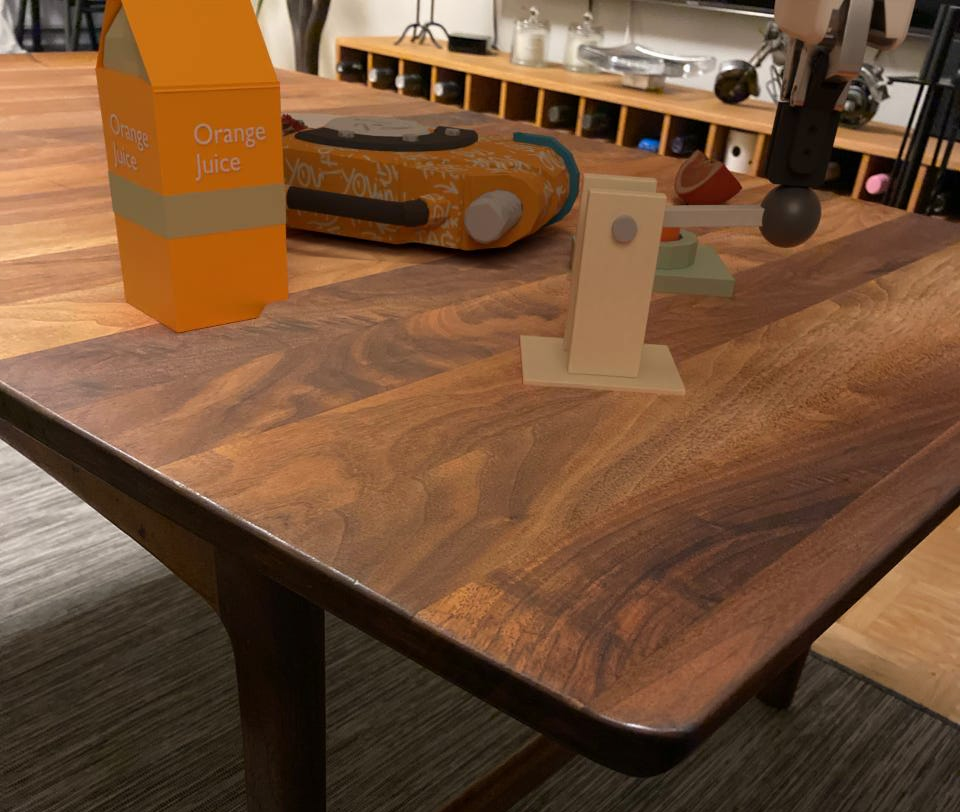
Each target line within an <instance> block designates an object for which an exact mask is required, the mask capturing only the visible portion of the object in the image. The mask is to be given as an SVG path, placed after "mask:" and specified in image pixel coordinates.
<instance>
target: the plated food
mask: <svg viewBox="0 0 960 812" xmlns="http://www.w3.org/2000/svg"><path fill="white" fill-rule="evenodd" d="M348 116H349V115H343V114H342V115H341V114H329V113H328V114H327V113H311V112H308V113H307V112H306V113H305V112H304V113H303V112H281V123H282V137H284V136H287V135H290V134H293V133H295V132H298V131H301V130H304V129H307V128H310V129H316V128H319V127H322V126H325V125H326V124H327V123H328V122H329V121H330V120H332V119H333V118H341V117H348Z"/></svg>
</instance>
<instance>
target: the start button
mask: <svg viewBox="0 0 960 812" xmlns="http://www.w3.org/2000/svg"><path fill="white" fill-rule="evenodd" d="M680 228H681V229H682V227H673V228H662V233H661V240H660V241H661V242H669V241H678V240H679V234H680Z"/></svg>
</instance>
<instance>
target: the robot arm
mask: <svg viewBox="0 0 960 812" xmlns="http://www.w3.org/2000/svg"><path fill="white" fill-rule="evenodd" d="M915 5H916V0H775V1H774V9H773V19H774V22H775V24H776V26H777V27H778V28H779V30H780V31H781V32H782V33H783V34H785V35H788V36H789V37H788V40H787V45H786V59H785V65H784V69H783V75H782V80H781V85H780V92H779V99H780V101H777V106H776V109H775V110H776V111H775V115H774V120H773V124H772V129H771V133H770V138H769V143H768V148H767V152H766V156H765V161H764V166H763V171H762V174H763V177H764V178H766V179H767V180H768V181H769V182H770V183H771V184H773V185H791V186H803V187H810V188H815V189H816V188H820V187H822V186H823V185H824V184H825V181H826V177H827V174H828V169H829V164H830V161H831V156H832V153H833V149H834V145H835V141H836V136H837V133H838V129H839V125H840V121H841V118H842V113H843V110H844V108H845V105H846V102H847V98H848V95H849V93H850V89H851V85H852V82H853V80H854V79H857V78H858V77H859V76H860V74H861V71H862V69H863V64H864V61H865V53H866V48H867V47H869V48H873V49H875V50H878V51H881V52H893V51H894V50H896V49H897V48H898V47H899V46H901V44H902V43H903V42H904V41H905V39H906V37H907V35H908V32H909V28H910V24H911V20H912V17H913V12H914V8H915ZM826 35H827V36H832V37H826Z"/></svg>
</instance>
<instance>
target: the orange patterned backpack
mask: <svg viewBox="0 0 960 812" xmlns="http://www.w3.org/2000/svg"><path fill="white" fill-rule="evenodd" d="M347 116H348V117H341V118H333V119H332V120H330V121H329V122H328V123H327V124H326V125H325V126H322V127H319V128H316V129H310V128H307V129H304V130H301V131H298V132H295V133H293V134H290V135H287V136H284V137H282V148H283V173H284V183H285V203H286V227H287V228H292V229H300V230H304V231H305V230H306V231H311V232H312V231H313V232H318V233H323V234H329V235H335V236H336V235H337V236H341V237H342V236H343V237H349V238H356V239H362V240H367V241H375V242H380V243H385V244H394V245H402V244H409V243H419V244H425V245H431V246H436V247H443V248H450V249H457V250H458V249H460V250H462V251H475V250H486V249H497V248H507V247H508V246H510V245H511V244H513V243H515V242H517V241H519V240H522V239H523V238H527V237H528V236H530V235H533V234H535V233H536V232H537V231H538V230H543V229H545V228H547V227H549V226H551V225H554V224H556V223H559V222H560V221H562V220H563V219H564V218H565V217H566V216H567V215H568V214H569V213H570V212H571V211H572V208H573V207H574V204H575V202H576V201H577V199H578V196H580V195H579V194H580V180H581V178H580V177H581V172H580V170H579V167H578V164H577V162H576V160H575V157H574V155H573V153H572V152H571V151H570V150H569V149H568V148H567V147H566V146H564V145H563V144H562V143H561V142H560V141H559V140H558V139H556V138H555V137H554V136H551V135H544V134H535V133H528V132H521V131H515V132H514V131H513V132H512V133H513V134H512V136H508V135H502V134H494V133H493V134H491V133H486V132H485V133H484V132H477V131H476V130H474V129H466V128H460V127H452V126H445V125H438V126H436V127H435V128H429V127H428V126H427V127H426V126H425V125H422V124H421V123H419V122H416V121H414V120H408V119H401V118H394V117H387V116H377V115H376V116H374V115H373V116H369V115H347Z"/></svg>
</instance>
